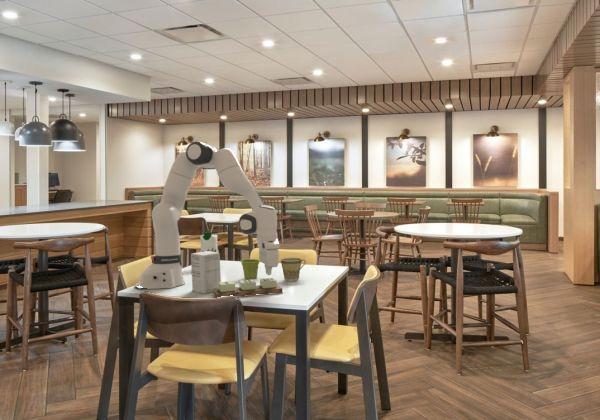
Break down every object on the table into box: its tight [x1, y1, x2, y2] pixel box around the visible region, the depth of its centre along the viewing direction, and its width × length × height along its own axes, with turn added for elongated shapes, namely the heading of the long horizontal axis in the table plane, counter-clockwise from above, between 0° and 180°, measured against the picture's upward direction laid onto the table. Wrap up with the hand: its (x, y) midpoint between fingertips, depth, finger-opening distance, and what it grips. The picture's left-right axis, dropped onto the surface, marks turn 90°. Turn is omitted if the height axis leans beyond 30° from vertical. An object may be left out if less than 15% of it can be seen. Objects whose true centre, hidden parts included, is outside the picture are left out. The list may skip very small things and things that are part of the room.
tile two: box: [238, 278, 257, 290], centre depth 214 cm, size 6×6×3 cm
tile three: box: [259, 277, 278, 288], centre depth 217 cm, size 6×6×3 cm
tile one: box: [218, 280, 236, 292], centre depth 211 cm, size 6×6×3 cm
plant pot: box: [240, 258, 261, 280], centre depth 247 cm, size 9×9×9 cm
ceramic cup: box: [280, 257, 306, 282], centre depth 241 cm, size 13×10×10 cm
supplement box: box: [190, 251, 222, 294], centre depth 221 cm, size 10×9×17 cm
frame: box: [212, 284, 283, 298], centre depth 214 cm, size 28×10×2 cm, turn 107°
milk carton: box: [199, 231, 219, 253], centre depth 281 cm, size 9×9×20 cm
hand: (268, 274), depth 217 cm, fingers closed
